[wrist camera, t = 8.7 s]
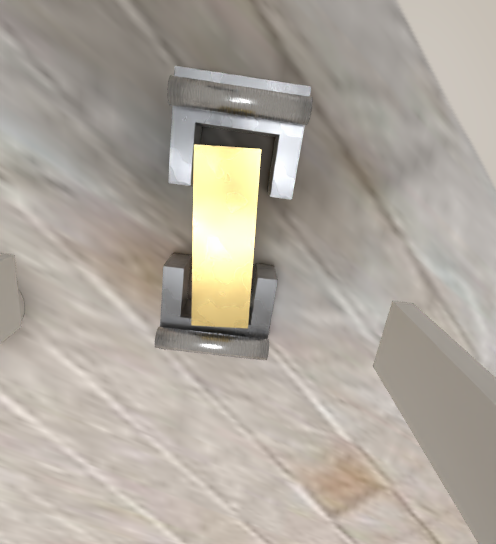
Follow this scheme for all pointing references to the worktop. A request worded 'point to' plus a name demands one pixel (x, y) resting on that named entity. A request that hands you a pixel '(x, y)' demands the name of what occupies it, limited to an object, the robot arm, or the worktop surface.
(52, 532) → the worktop surface
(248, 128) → the bracket
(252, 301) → the chain end
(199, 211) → the gold rectangular block
